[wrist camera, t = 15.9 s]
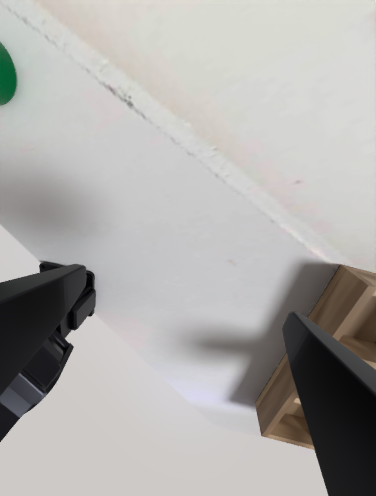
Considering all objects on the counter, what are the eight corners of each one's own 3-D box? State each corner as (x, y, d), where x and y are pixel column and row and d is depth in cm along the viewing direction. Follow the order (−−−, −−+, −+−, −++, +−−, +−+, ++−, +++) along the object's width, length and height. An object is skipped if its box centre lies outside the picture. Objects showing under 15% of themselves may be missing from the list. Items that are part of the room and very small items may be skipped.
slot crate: (255, 403, 31) (261, 435, 27) (340, 264, 21) (368, 285, 17) (310, 417, 31) (324, 452, 27) (420, 285, 21) (465, 311, 17)
